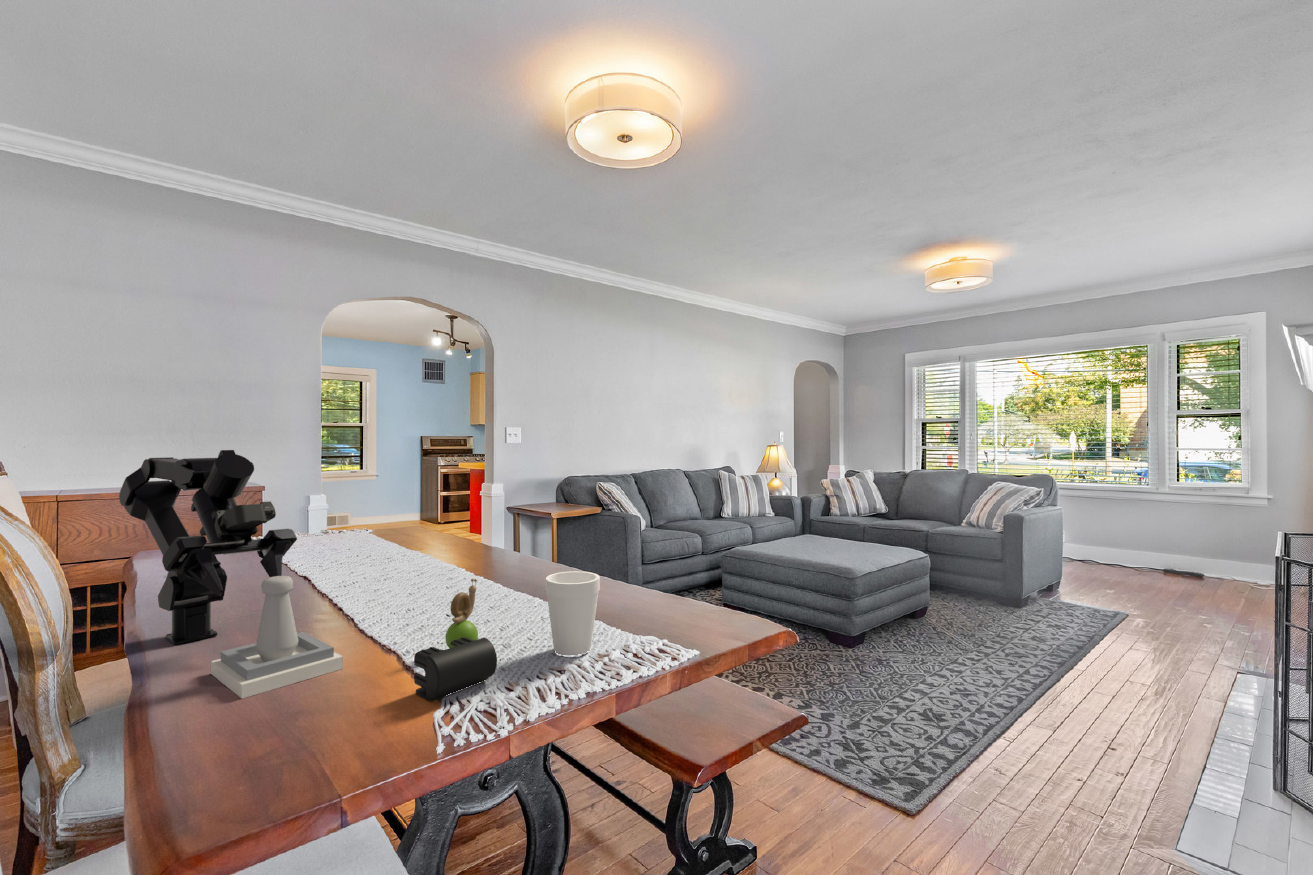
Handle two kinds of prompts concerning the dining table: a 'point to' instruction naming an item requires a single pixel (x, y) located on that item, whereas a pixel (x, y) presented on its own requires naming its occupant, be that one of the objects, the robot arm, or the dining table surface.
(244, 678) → the display plinth
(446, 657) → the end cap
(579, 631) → the foam cup
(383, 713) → the dining table surface
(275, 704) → the dining table surface
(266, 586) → the salt shaker
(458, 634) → the snail figurine
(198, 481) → the robot arm
